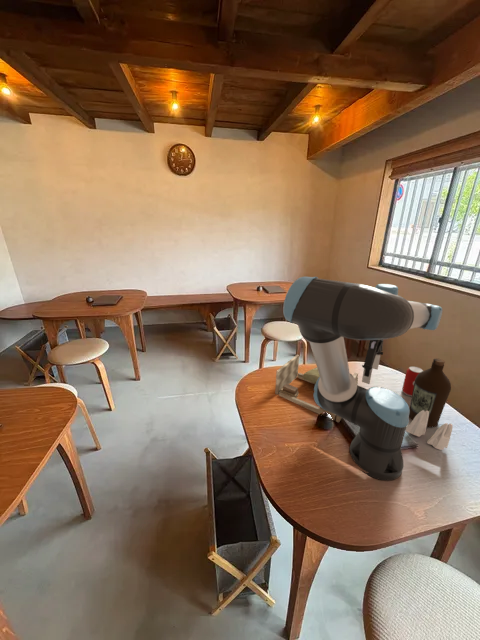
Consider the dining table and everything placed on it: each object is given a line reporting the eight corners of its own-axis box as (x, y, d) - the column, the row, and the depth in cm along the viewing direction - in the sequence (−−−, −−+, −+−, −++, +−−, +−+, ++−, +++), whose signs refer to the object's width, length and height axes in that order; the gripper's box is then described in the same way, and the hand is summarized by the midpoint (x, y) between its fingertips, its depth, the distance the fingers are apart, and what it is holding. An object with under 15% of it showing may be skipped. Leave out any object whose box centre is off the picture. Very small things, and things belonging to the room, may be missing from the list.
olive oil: (416, 406, 107) (432, 351, 99) (445, 423, 98) (465, 363, 90) (400, 414, 103) (414, 356, 94) (428, 432, 94) (447, 370, 86)
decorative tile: (303, 370, 118) (323, 359, 133) (301, 382, 120) (321, 370, 134) (344, 387, 106) (361, 373, 121) (342, 400, 108) (358, 384, 123)
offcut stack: (294, 400, 112) (295, 391, 110) (280, 394, 116) (280, 385, 114) (298, 396, 114) (298, 388, 112) (283, 390, 118) (284, 382, 116)
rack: (338, 422, 99) (343, 395, 95) (275, 395, 114) (276, 370, 110) (353, 398, 113) (358, 373, 109) (295, 376, 128) (296, 354, 124)
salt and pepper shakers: (403, 434, 93) (410, 408, 90) (406, 428, 96) (413, 402, 92) (445, 453, 85) (454, 425, 82) (447, 446, 88) (456, 419, 84)
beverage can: (415, 399, 112) (421, 374, 108) (399, 392, 116) (405, 368, 112) (420, 394, 116) (427, 369, 112) (404, 387, 120) (410, 364, 116)
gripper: (383, 338, 88) (372, 393, 95) (396, 319, 107) (386, 365, 114) (359, 333, 92) (351, 385, 99) (376, 315, 111) (368, 360, 118)
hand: (370, 375), depth 107 cm, fingers open, 13 cm apart
